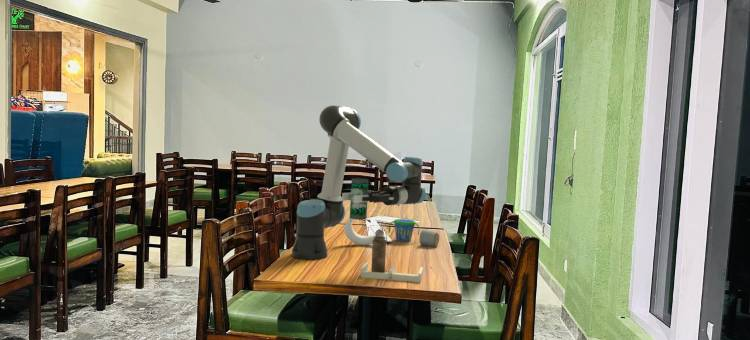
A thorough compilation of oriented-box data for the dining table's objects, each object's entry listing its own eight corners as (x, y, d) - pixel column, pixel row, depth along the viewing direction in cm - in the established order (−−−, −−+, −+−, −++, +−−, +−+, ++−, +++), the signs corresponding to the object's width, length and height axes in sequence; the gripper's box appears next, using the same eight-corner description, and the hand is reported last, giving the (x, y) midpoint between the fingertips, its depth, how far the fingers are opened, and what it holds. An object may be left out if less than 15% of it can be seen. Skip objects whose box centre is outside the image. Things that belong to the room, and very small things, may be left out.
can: (347, 218, 209) (349, 179, 208) (353, 216, 215) (355, 178, 214) (362, 220, 207) (364, 180, 206) (368, 218, 213) (370, 179, 212)
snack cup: (420, 240, 281) (421, 220, 281) (416, 243, 271) (417, 223, 271) (391, 237, 286) (392, 217, 285) (386, 241, 276) (386, 220, 275)
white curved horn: (383, 247, 260) (385, 216, 260) (343, 245, 260) (344, 214, 259) (383, 244, 265) (384, 214, 264) (343, 243, 264) (344, 213, 264)
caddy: (360, 279, 200) (360, 268, 200) (364, 273, 210) (365, 262, 210) (420, 284, 197) (421, 273, 197) (422, 277, 207) (423, 267, 206)
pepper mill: (370, 276, 202) (371, 230, 201) (372, 272, 207) (374, 227, 206) (383, 277, 201) (385, 231, 200) (385, 273, 206) (387, 228, 205)
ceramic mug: (434, 248, 263) (435, 232, 262) (418, 246, 266) (419, 230, 266) (441, 244, 272) (442, 229, 272) (426, 242, 276) (426, 227, 275)
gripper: (410, 208, 215) (364, 211, 200) (377, 201, 230) (332, 204, 215) (411, 189, 214) (365, 191, 199) (378, 183, 229) (333, 185, 214)
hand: (348, 197), depth 207 cm, fingers closed on can, 6 cm apart
